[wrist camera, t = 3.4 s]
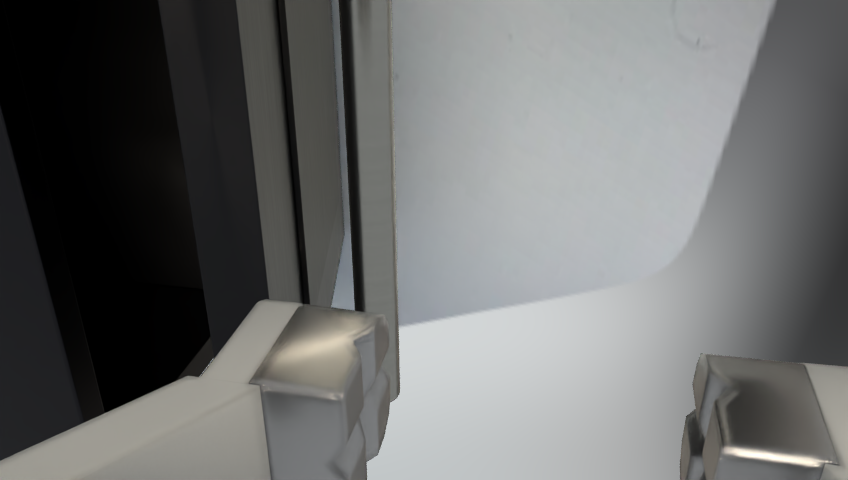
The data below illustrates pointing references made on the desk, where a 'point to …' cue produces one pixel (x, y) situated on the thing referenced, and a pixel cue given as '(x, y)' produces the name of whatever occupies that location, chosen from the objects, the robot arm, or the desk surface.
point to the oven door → (286, 153)
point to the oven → (90, 218)
